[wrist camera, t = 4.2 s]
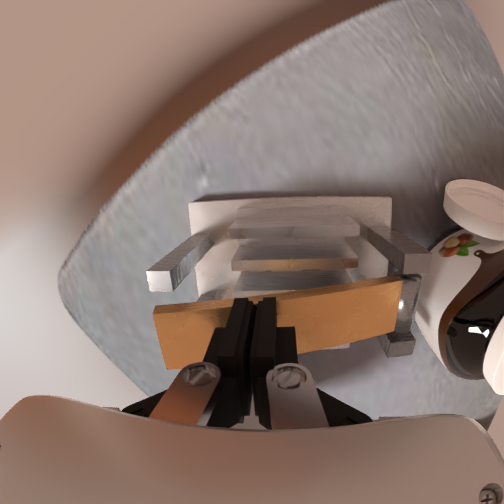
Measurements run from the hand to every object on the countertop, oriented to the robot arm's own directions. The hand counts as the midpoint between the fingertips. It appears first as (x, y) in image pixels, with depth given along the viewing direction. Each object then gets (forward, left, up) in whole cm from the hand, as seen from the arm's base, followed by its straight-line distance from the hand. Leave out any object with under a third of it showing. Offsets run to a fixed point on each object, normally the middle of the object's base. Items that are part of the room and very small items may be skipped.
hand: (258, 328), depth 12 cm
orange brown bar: (-2, 0, -2) cm, 3 cm away
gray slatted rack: (-2, 0, -9) cm, 9 cm away
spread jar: (-15, 0, -10) cm, 18 cm away
